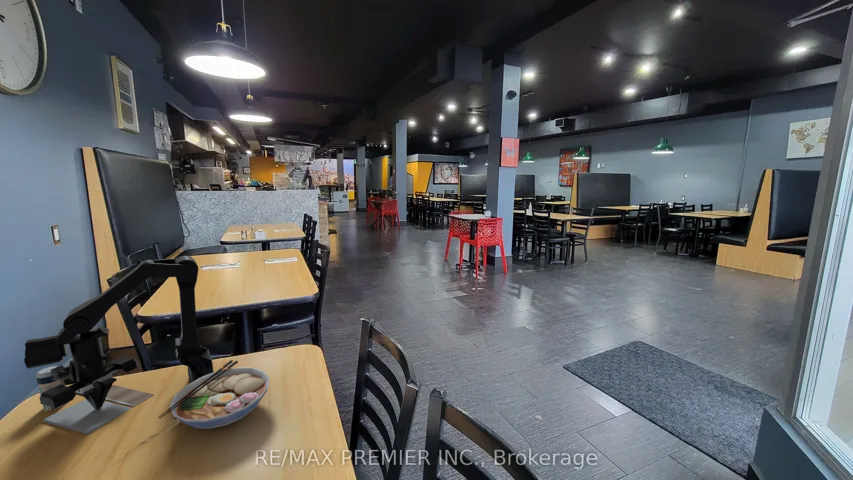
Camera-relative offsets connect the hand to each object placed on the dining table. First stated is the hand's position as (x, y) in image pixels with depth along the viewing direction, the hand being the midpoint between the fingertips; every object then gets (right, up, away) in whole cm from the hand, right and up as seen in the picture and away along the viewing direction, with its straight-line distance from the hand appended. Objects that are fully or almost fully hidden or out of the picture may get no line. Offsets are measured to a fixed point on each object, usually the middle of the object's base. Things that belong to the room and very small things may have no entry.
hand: (98, 408), depth 94 cm
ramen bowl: (+34, -2, 0) cm, 34 cm away
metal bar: (+2, 0, +6) cm, 6 cm away
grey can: (-13, -1, +2) cm, 13 cm away
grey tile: (-1, -2, -2) cm, 3 cm away
